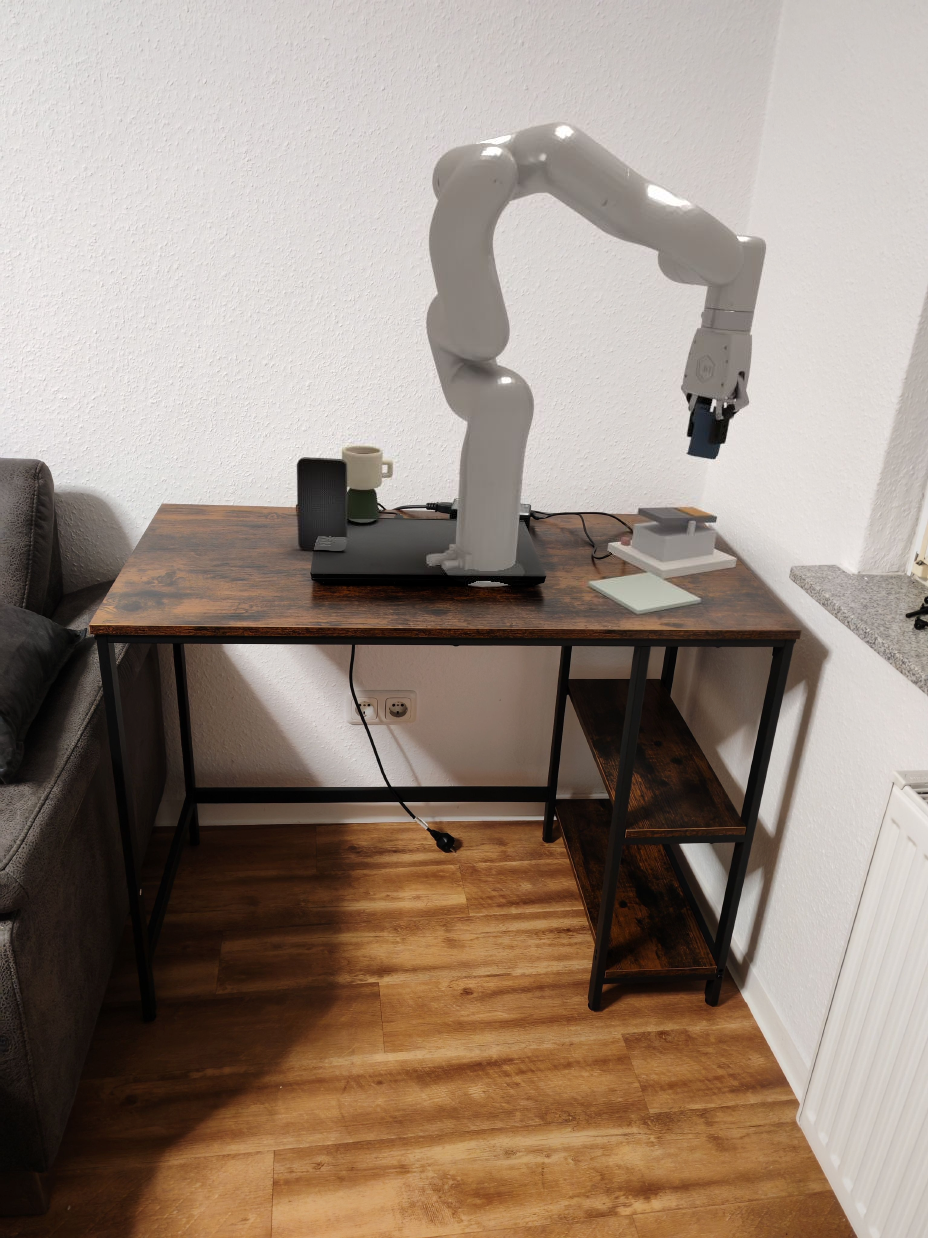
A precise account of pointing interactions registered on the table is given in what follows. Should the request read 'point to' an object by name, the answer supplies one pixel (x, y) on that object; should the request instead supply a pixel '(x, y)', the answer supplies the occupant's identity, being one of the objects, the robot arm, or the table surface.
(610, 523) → the table surface
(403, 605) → the table surface
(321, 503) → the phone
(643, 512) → the plate
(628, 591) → the mat
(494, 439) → the robot arm
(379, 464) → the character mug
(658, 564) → the white rocker switch base
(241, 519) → the table surface
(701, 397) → the vaping device
